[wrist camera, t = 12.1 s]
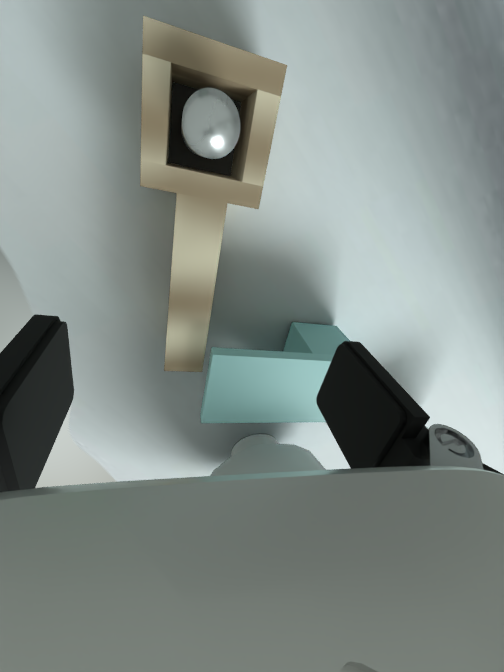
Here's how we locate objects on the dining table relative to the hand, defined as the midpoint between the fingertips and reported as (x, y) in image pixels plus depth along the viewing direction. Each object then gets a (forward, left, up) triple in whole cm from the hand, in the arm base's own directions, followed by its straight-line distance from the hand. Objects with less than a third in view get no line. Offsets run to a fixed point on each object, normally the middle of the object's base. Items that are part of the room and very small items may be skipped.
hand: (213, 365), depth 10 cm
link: (-1, 0, -16) cm, 16 cm away
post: (-8, 0, -16) cm, 18 cm away
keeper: (+9, +8, -16) cm, 20 cm away
